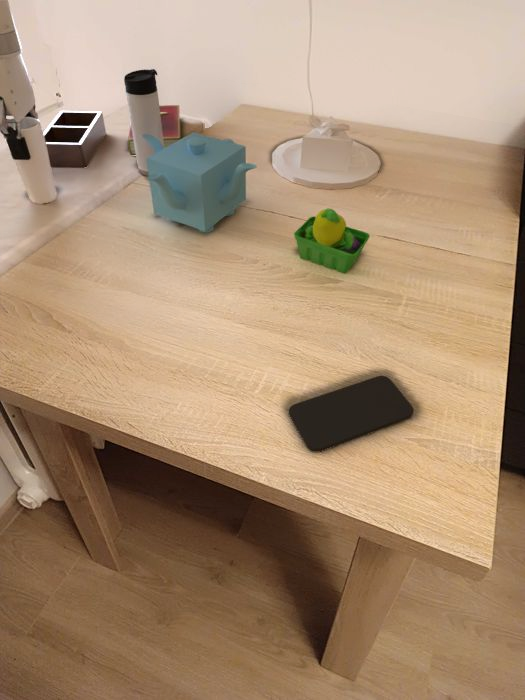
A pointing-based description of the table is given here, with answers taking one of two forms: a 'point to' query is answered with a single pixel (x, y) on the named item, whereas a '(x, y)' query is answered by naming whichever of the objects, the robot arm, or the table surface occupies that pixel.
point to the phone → (349, 412)
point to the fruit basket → (330, 241)
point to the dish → (326, 158)
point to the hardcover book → (164, 127)
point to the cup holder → (74, 138)
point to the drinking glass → (36, 163)
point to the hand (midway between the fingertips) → (28, 149)
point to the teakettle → (197, 179)
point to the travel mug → (143, 113)
